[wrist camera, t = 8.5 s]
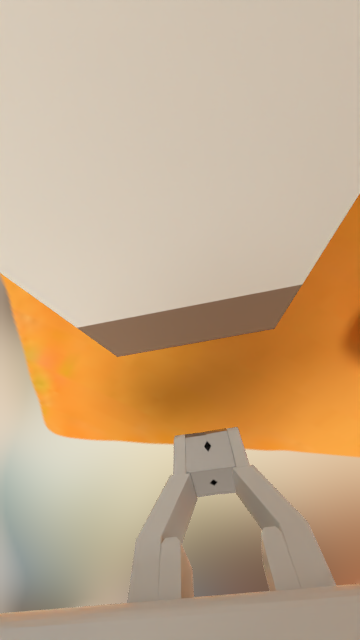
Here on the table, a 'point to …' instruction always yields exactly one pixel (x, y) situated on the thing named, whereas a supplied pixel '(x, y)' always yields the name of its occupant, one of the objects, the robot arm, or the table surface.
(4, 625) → the robot arm
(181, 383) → the table surface
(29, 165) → the lid
